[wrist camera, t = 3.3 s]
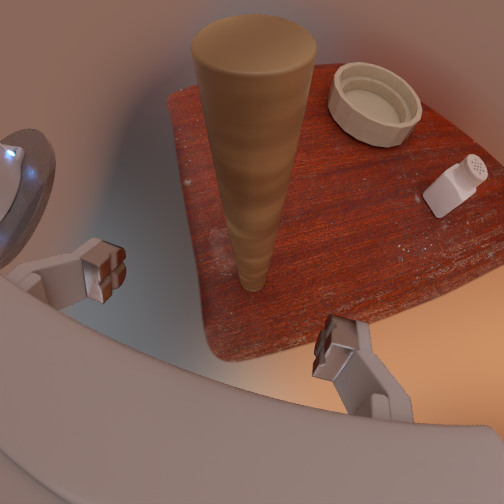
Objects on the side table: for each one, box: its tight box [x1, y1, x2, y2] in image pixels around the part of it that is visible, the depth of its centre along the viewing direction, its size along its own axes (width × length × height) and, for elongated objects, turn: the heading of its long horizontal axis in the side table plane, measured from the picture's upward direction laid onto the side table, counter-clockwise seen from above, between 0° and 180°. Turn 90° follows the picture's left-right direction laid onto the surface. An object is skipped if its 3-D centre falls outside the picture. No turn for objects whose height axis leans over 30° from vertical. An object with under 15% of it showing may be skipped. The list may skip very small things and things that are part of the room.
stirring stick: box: [191, 14, 317, 292], centre depth 17 cm, size 3×3×26 cm
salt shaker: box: [423, 154, 488, 218], centre depth 28 cm, size 4×4×10 cm
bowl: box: [328, 62, 422, 147], centre depth 34 cm, size 12×13×5 cm
